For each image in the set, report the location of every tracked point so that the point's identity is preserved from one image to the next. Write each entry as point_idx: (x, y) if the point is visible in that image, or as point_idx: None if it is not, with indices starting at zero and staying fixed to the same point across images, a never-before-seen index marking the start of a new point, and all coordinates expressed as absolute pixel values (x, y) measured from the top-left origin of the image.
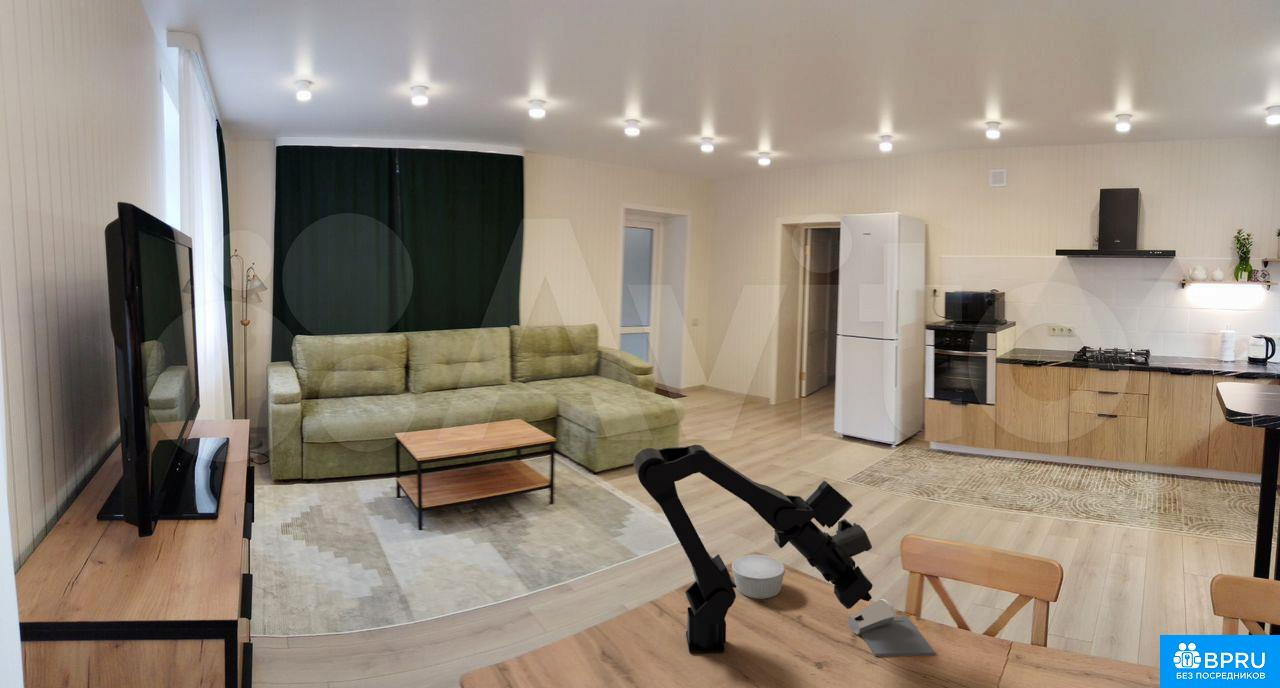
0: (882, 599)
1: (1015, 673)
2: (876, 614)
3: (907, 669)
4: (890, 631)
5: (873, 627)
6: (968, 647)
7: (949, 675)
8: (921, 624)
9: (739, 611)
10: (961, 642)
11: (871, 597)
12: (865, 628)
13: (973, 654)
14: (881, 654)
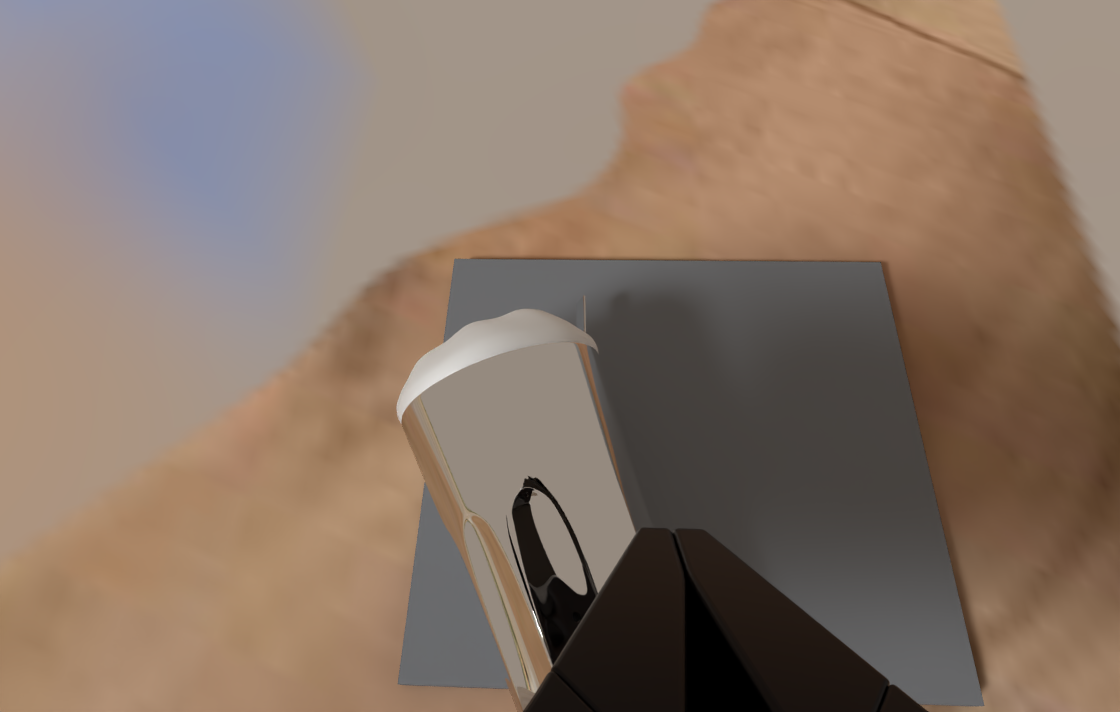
0: (457, 361)
1: (972, 18)
2: (627, 508)
3: (1094, 511)
4: (638, 438)
5: None
6: (768, 98)
7: (1084, 284)
8: (530, 216)
9: None
10: (721, 108)
11: (707, 537)
12: None
13: (833, 102)
14: (967, 644)
